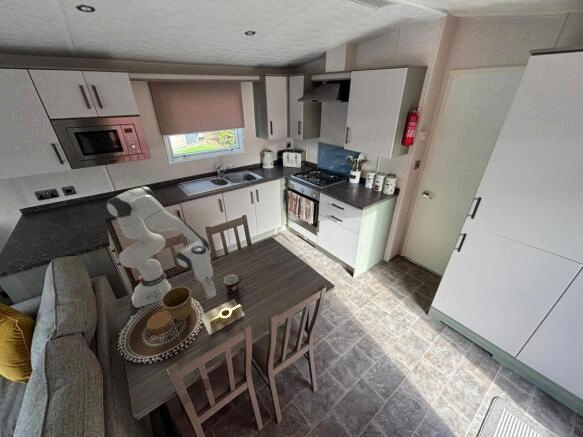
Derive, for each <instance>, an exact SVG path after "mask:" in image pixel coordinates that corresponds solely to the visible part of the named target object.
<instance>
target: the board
mask: <svg viewBox="0 0 583 437" xmlns="http://www.w3.org/2000/svg"><path fill="white" fill-rule="evenodd" d="M238 305H239V304H238V303H237V301H236V300H235V298H233V299H231V300H229V301H227V302H225V303H223V304H220V305H219V306H217V307H215V308H212V309H210V310H209V311H207V312H205V313H203V314H202V315H203V316H202V318H201V317H200V319H201V321H202V322H203V325H204V327H205V329H206V331H207V332H208V335H212V334H214V333H216V332H218V331H219V330H221V329H224V327H227V326H229V325H230V324H232V323H234V322H235V321H237V320H240V319H241V318H242V317H245V313H244V312H243V310H242V311H241V312H239V313H238V314H236V315H234V316H233V318H232V321H231V322H229V323H228V324H223V323H222V322H221V323H219V324H217V325H216V326H214V327H212V328H211V326H210V322H209V321H210V320H212V319H214V318H216V317H218V316H219V313H220V311H221V310H223V309H225V308H229V309H230V310H231V309H233V308H235V307H236V306H238ZM226 316H227V315H226Z"/></svg>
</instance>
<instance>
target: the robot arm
mask: <svg viewBox="0 0 583 437" xmlns="http://www.w3.org/2000/svg"><path fill="white" fill-rule="evenodd" d="M155 196H156V195H155V194H154V191H153V190H152V189H151V188H150V187H148V186H144V185H142V186H139V187H136V188H132V189H129V190H126V191H124V192H123V193H122V192H121V193H120V194H117V195H116V196H112V197H111V198H109V199H108V200H106V209H107V211H108V212H109V214H110V215H111V216H113V217H114V218H116V220H117V223H118V225H119V227H120V229H121V231H122V233H123V236H125V238H127V239H132V240H135V239H138V241H137V242H135V243H133V244H132V245H129V246H128V247H126V248H125V249H124V250H122V251H121V252H120V253H119V254H118V261H119V262H120V264H121V265H122V266H123V267H126V268H135V269H137V270H138V272H139V273H140V275H139V276H137V277H138V278H137V279H138V280H139V284H138V285H137V286H135V288H134V289H133V290H134V291H133V294H132V296H131V302H132V305H133V306H134V308H137V309H138V308H141V307H144V306H147V305H150V304H151V305H152V304H154V303H158V302H161V301H162V298H163V296H164V295H165V294H166V293H167V292H168V291H170V290H171V289H172V285H171V284H170V283H169V281H168V280H167V278H166V274H165V271H164V270H163V269H162V265H161V263H160V261H159V260H157V259H155V258H150V257H152V256H153V255H156V254H157V253H159V252H161V250H162V249H163V248H164V247H166V240H165V238H164V237H163V235H161V234H159V233H154V232H166V231H177V232H180V233H181V234H182V235H183V236H184V237H185V238H186V239H188V240H189V242H190V243H188V244H187V245H186V246H184V247H183V248H181V249H180V250H178V251H177V252H176V254H175V260H176V263H177V265H178V266H180V267H181V268H184V269H188V270H189V269H193V274H194V277H195V279H196V281H199V282H201V285H202V286H203V288H204V291H205V290H206V292H207V294H208V295H209V297H210V299H211V298H213V297H215V296H216V295H217V291H216V286H215V284H214V282H213V281H212V278H213V275H214V270H213V265H212V264H211V261H212V260H211V256H210V244H209V241H208V240H207V239H205V238H204V237H202V236H201V235H200V234H199V233H198V232H197V231H195V230H194V229H193V228H192V227H191V226H190V225H189V224H188V223H187V222H186V221H185V220H183V218H181V217H180V216H177V215H174V214H171V213H170V212H168V211H167V210H166V208H164V206H163V205H162V204H161V202H159V201H158V200H157V199H156V197H155ZM149 229H151V230H153V232H152V231H150V230H149ZM160 300H161V301H160ZM157 301H158V302H157Z"/></svg>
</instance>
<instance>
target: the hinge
mask: <svg viewBox="0 0 583 437" xmlns="http://www.w3.org/2000/svg"><path fill="white" fill-rule="evenodd" d="M241 311H242V312H243V310H242V305H241V304H238V306H236V307H235V308H233V309H231V310H230V309H229V308H225V309H223V310H221V311H220V313H219V316H218V317H216V318H214V319H212V320H210V321H209V322H210V326H211V328H212V327H214V326H216V325H217V324H219V323H221V322H222V323H223V324H228V323H229V322H231V321H232V318H233V316H234V315H236V314H238V313H239V312H241ZM226 315H227V316H226ZM228 325H229V324H228Z"/></svg>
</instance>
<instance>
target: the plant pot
mask: <svg viewBox="0 0 583 437" xmlns="http://www.w3.org/2000/svg"><path fill="white" fill-rule="evenodd" d="M191 291H192V290H190V288H188V287H187V286H178V287H174V288H171V290H170V291H168V292H167V293H166V294H165V295H164V296H163V298H162V300H161V305H162V306H163V308H164V309H165V310H166V311H167V313H168V314H169V315H170V316H171V317H172V318H174V319H175V320H177V321H181V322H182V321H185V320H186V319H188V318H189V317H190V315H191V312H192V311H191V310H192V292H191Z"/></svg>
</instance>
